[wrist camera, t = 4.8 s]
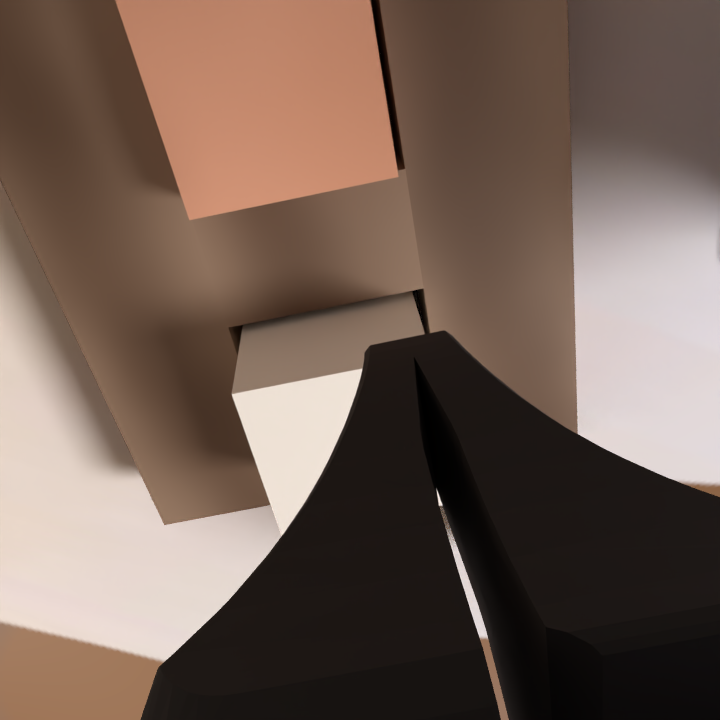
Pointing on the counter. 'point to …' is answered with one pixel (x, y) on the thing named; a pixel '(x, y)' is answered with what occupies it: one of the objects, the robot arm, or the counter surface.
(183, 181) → the key terracotta
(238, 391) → the key cream
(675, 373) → the counter surface
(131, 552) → the counter surface
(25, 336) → the counter surface
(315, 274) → the brown rectangular tray
